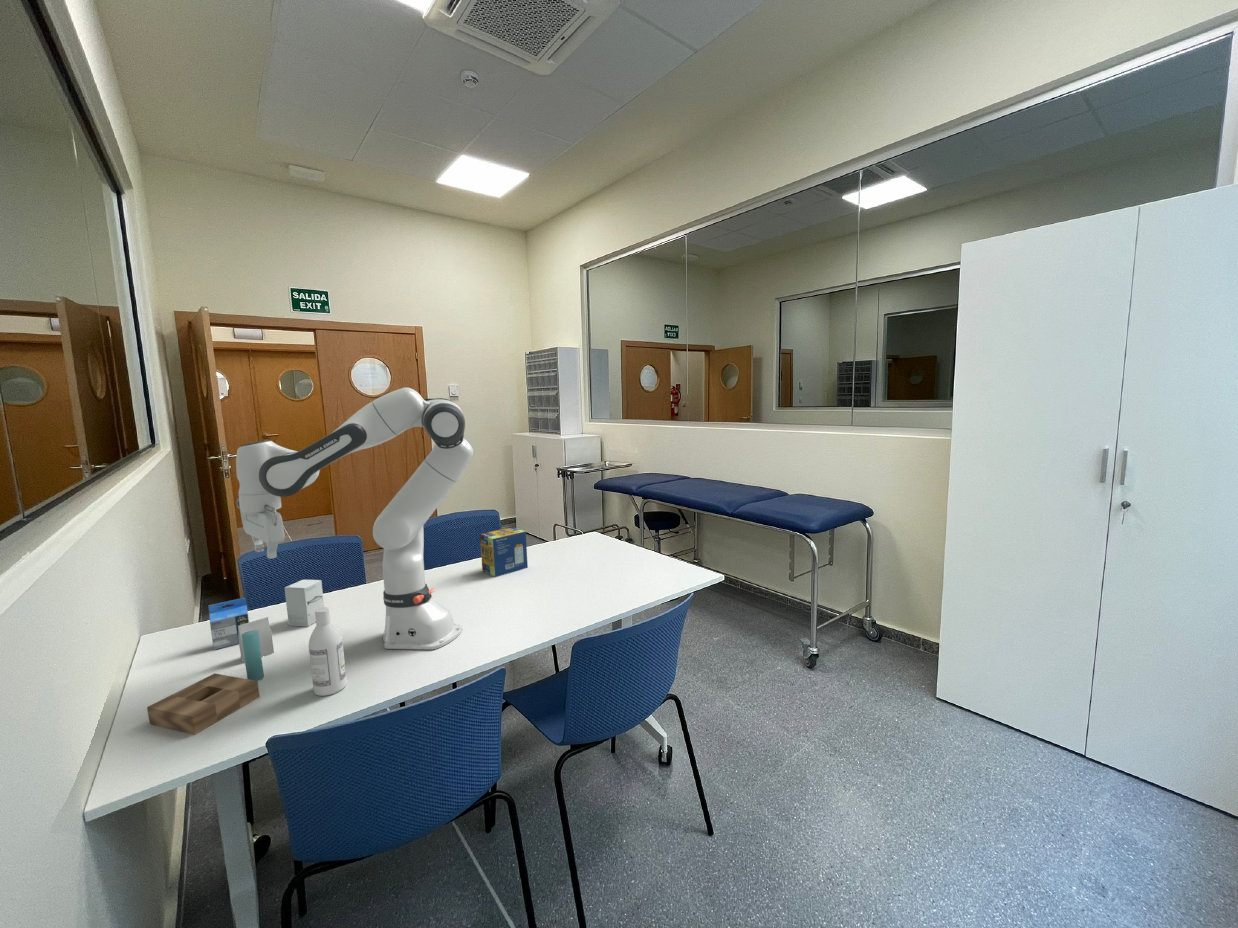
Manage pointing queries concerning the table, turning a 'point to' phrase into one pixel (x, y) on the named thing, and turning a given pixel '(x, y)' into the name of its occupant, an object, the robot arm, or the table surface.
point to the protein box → (503, 551)
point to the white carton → (264, 636)
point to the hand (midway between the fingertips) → (265, 554)
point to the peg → (252, 655)
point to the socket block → (203, 703)
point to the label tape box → (227, 622)
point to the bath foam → (326, 656)
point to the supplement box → (303, 602)
